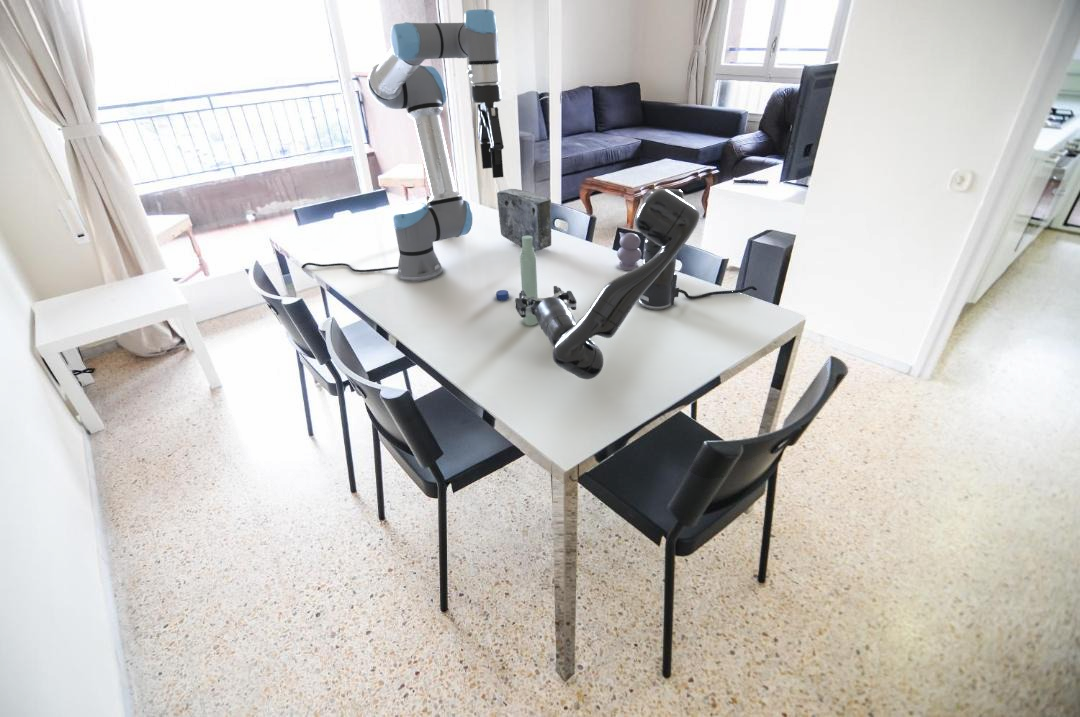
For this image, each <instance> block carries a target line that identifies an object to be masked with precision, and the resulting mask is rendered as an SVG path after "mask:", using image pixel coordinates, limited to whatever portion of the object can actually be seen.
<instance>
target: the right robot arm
mask: <svg viewBox="0 0 1080 717" xmlns="http://www.w3.org/2000/svg"><path fill="white" fill-rule="evenodd" d="M634 217H635V218H634V226H635V227H634V228H635V229H636V230H637V231H638V232H639V233H640V234H642V235H643V236H644V237H645V238H644V242H643V255H642V265H639V266H637V268H636V269H634V270H629V271H628V272H625V273H623V274H621V275H619V276H617V277H616V278H614V279H612V280H610V281H609V282H608V283H607V284H605V285H604V287H602V288H601V290H600V292H599V293H598V295H597V296H596V298H595V299H594V301H593V302H592V303H591V305H590V307H589V308H588V310H587V311H586V313H585V314H584V315H583V316H582V317H581V318H579V320H577V321H576V319H575V317H574V315H573V314H572V312H571V311H570V309H571V310H572V311H576V310H577V299H576V297H575V295H574V293H573V292H572V290H567V291H566V292H565V291H563V290H562V289H561V287H559V286H558V285H554V286H553V295H552V296H549V297H540V298H539V297H538V298H536V297H527V295H526V294H525V292H524V290H523V291H522V290H520V292H518V297H516V298H514V303H515V310H516V312H517V313H518V315H519V316H520V318H523V319H524V317H526V314H529V313H532V314H533V315H535V316H536V319H537V321H538V323H537V324H539V326H540V329H541V330H542V332H543V333H544V335H545V336H546V338H548V340H549V342H550V344H551V346H552V359H553V362H554V363H555V364H556V366H558V367H560V368H561V369H563V370H565V371H567V372H568V373H570V374H572V375H574V376H575V377H577V378H579V379H582V380H593V379H594V378H596V377H598V376H599V375H600V373H601V372H602V370H603V368H604V364H605V363H604V362H605V361H604V354H603V352H602V351H601V349H600V347H598V346H597V344H596V343H595V342H594V341H593V340H592V338H593V337H595V336H599V337H602V338H604V339H611V338H612V337H614V335H616V333H617V332H618V330H619V329H620V327H621V326H622V324H623V323H624V321H625V320H626V318H627V317H628V315H629V314H630V312H631V310H633V308H634V306H635V305H636V304H637V302H639V305H640V306H641V307H643V308H645V309H648V310H653V311H660V310H666V309H669V308H670V307H671V306H675V299H676V298H679V293H681V294H683V295H684V296H685V298H687V299H689V300H696V299H697V300H698V299H702V298H706V297H710V296H715V295H716V296H717V295H728V294H731V295H732V294H740V293H744V292H747V291H749V290H753V291H758V289H757V287H756V286H754V285H749V286H746V287H744V288H741V289H734V290H733V289H732V290H731V289H730V290H717V291H710V292H705V293H703V294H699V295H689V293H688V292H687V291H685V290H684V289H682V288H680V287H679V286H677V281H678V274H676V264H677V257H678V256H677V254H678V253H679V252H680V251H681V249H682V248H683V247H684V245H685V244H686V243H687V241H688V240H689V239H690V238H691V236H692V234H693V233H694V231H695V230H696V228H697V225H698V224H699V222H700V217H701V214H700V211H699V210H698V209H697V208H696V207H694V206H693V205H691V204H690V203H688V202H686V201H685V196H684V192H683V191H682V190H681V189H677V188H675V189H674V188H673V189H672V188H671V189H670V188H661V187H660V188H653V189H649V190H647V191H646V192H645V194H644V196H643V198H642V201H641V203H640V206H639V207H638V210H637V212H636V214H635V216H634ZM732 291H733V292H732ZM527 301H528V304H527ZM534 302H535V303H534Z"/></svg>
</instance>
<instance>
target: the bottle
mask: <svg viewBox="0 0 1080 717" xmlns="http://www.w3.org/2000/svg"><path fill="white" fill-rule="evenodd" d="M532 240H533V239H532V236H523V237H522V247H521V251H520V256H519V257H520V258H519V264H520V265H519V266H520V280H521V281H520V282H521V291H523V290H524V292H525V294H526V295H527V297H536V298H539V296H538V274H537V272H538V271H537V257H536V256H537V255H536V252H535V250H533V247H532ZM534 303H535V302H534ZM527 304H528V301H527ZM523 324H524V325H526V326H535V325H537V324H539V323H538V321H537V319H536V316H535V315H533V314H532V313H529V314H526V317H524V318H523Z"/></svg>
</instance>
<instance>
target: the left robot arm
mask: <svg viewBox="0 0 1080 717" xmlns="http://www.w3.org/2000/svg"><path fill="white" fill-rule="evenodd" d="M463 16H464V17H463V19H464V20H463V22H408V21H407V22H406V21H405V22H402V23H401V22H400V23H395V24H393V25H392V26H391V29H390V34H389V36H390V46H391V48H390V49H389V51H388V52H387V53H386V55H385V57H384V58H383V59H382V61H381V62H380V63H378V64H376V65H374V66H373V67H372V68H371V69H370V71H369V73H368V75H367V88H368V91H369V93H370V95H371V97H372V98H373V99H374V100H375V101H376V102H377V103H378V104H380V105H381V106H383V107H385V108H389V109H393V110H403V109H406V112H407V117H409V118H410V119H412V120H413V122H414V126H415V130H416V135H417V138H418V143H419V147H420V151H421V152H420V153H421V155H422V156H421V157H422V160H423V164H424V168H425V173H426V177H427V182H428V186H429V190H430V195H431V196H430V200H429V205H430V207H427V203H424V202H423V203H422V202H417V203H410V204H406V205H403V206H401V207H399V208H397V209H396V210H395V211H394V213H393V215H392V219H393V228H394V230H395V231H394V232H395V236H396V241H397V247H398V251H399V259H398V265H397V266H389V267H382V268H381V267H380V268H370V269H356V268H353V266H352V265H350V264H348V263H343V262H340V263H339V262H337V263H325V264H324V263H323V264H320V263H314V262H306V263H303V265H302V266H301V269H304V268H305V267H306V266H313V267H314V266H315V267H319V268H320V267H321V268H323V267H337V266H342V267H343V266H344V267H345V266H346V267H348V268H349V269H350V270H351V271H352V272H356V273H372V272H382V271H391V270H397V276H398V278H399V279H400V280H402V281H406V282H413V283H414V282H425V281H429V280H432V279H435V278H438V277H439V276H440V275H441V274H442V273H443V268H442V264H441V263H440V260H439V259H438V256H437V254H436V252H435V250H434V243H435V242H439V241H443V240H449V239H453V238H454V239H455V238H459V237H463V236H465V235H467V234H469V232H470V231H471V229H472V227H473V211H472V210H473V209H472V207H471V206H470V202H468V200H465V199H463V194H461V193H460V192H458V191H457V188H456V184H455V179H454V174H453V171H452V166H451V162H450V156H449V152H448V147H447V142H446V139H445V134H444V128H443V124H442V118H441V114H442V113H443V111H444V108H443V106H444V105H445V104H446V102H447V89H446V85H445V81H444V79H443V76H442V75H441V73H440V72H439V71H438V69H436V68H435V67H434V66H433V65H432V66H431V65H422V63H424V61H426V60H437V59H466V58H467V61H468V68H469V69H467V71H466V74H467V75H469V80H470V81H469V82H470V83H471V84H472V85H471V87H470V94H471V101H472V102H473V103H476V104H477V106H476V107H477V139H478V140H479V143H480V144H479V145H480V155H481V165H482V169H483V170H486V169H491V171H492V172H491V173H492V178H493V179H497V178H504V164H503V152H502V151H503V150H504V148H505V146H504V140H503V135H502V129H501V124H500V123H501V122H500V116H499V108H498V106H496V107H495V103H498V102H501V101H502V87H501V86H500V84H499V83H501V69H500V68H501V67H500V60H499V59H500V58H499V57H500V56H499V42H498V41H499V39H498V26H497V19H496V14H495V12H494V11H493V9H484V8H483V9H482V8H480V9H479V8H477V9H468V10H466V11H465V12H464V15H463Z"/></svg>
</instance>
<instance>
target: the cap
mask: <svg viewBox="0 0 1080 717" xmlns="http://www.w3.org/2000/svg"><path fill="white" fill-rule="evenodd" d="M495 293H496V294H495V297H496V300H497V301H500V302H504V301H508V300H509V299H510V293H509V291H508V290H507V289H500V290H497V291H496V292H495Z"/></svg>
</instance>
